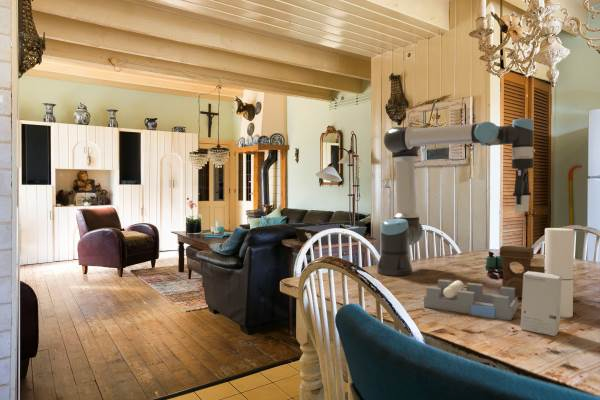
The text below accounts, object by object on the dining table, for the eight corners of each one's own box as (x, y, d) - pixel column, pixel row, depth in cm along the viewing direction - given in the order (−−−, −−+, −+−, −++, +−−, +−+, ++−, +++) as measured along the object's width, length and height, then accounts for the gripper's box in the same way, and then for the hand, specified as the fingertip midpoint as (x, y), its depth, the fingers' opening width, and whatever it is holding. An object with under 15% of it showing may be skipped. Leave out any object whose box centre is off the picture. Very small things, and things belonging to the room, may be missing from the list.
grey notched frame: (423, 307, 130) (423, 287, 130) (437, 296, 143) (437, 279, 142) (510, 320, 116) (510, 299, 116) (517, 307, 129) (517, 288, 129)
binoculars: (492, 256, 166) (483, 250, 176) (491, 281, 168) (482, 274, 178) (515, 256, 166) (505, 250, 175) (514, 282, 167) (504, 274, 177)
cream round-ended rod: (441, 298, 127) (441, 287, 127) (454, 289, 139) (454, 278, 139) (453, 300, 126) (453, 289, 125) (465, 290, 137) (465, 280, 137)
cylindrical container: (568, 311, 125) (569, 228, 124) (576, 318, 118) (577, 230, 117) (541, 309, 127) (542, 227, 126) (547, 316, 120) (548, 230, 120)
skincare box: (520, 330, 109) (520, 273, 109) (525, 324, 114) (526, 270, 113) (557, 337, 104) (558, 277, 103) (561, 330, 108) (562, 273, 108)
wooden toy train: (498, 297, 142) (498, 248, 141) (502, 290, 151) (503, 244, 151) (568, 305, 131) (569, 253, 130) (568, 297, 140) (568, 248, 140)
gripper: (528, 156, 152) (527, 214, 153) (537, 159, 172) (537, 210, 173) (505, 157, 156) (505, 213, 157) (517, 160, 176) (517, 210, 177)
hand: (522, 212), depth 165 cm, fingers open, 13 cm apart
